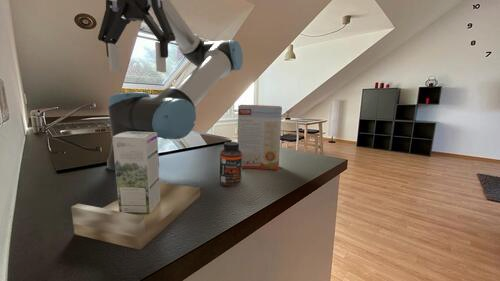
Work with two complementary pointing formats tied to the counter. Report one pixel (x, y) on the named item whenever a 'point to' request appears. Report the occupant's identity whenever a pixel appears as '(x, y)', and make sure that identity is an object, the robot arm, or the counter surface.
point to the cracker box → (259, 136)
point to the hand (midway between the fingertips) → (137, 71)
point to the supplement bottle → (230, 164)
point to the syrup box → (137, 171)
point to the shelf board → (133, 218)
